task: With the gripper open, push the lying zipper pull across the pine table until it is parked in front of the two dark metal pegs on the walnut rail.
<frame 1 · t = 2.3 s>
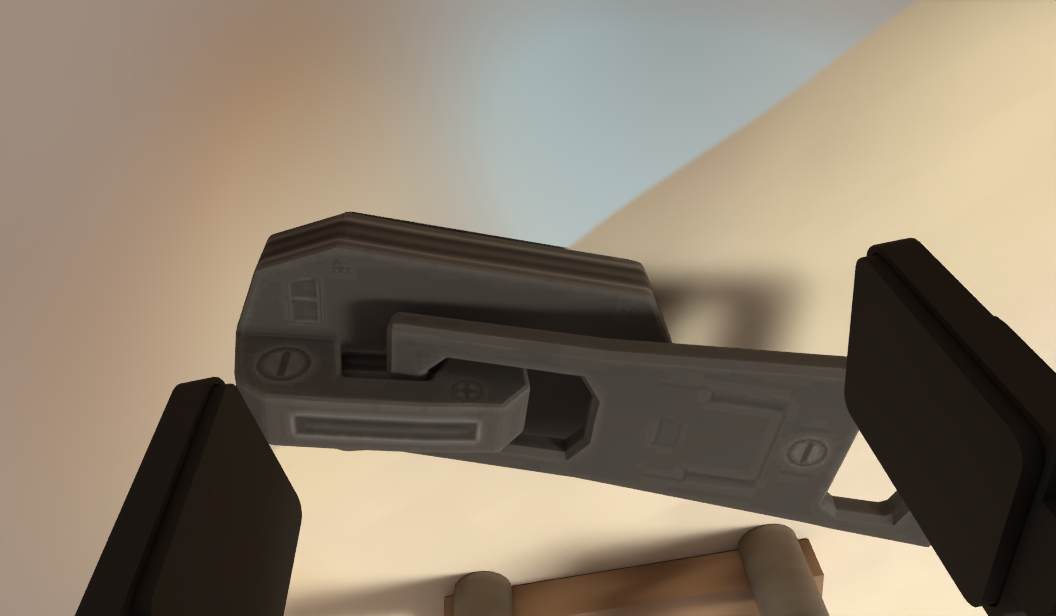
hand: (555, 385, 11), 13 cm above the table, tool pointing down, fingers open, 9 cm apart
peg stop rail: (623, 568, 37), on the table
zipper pull: (596, 330, 28), on the table
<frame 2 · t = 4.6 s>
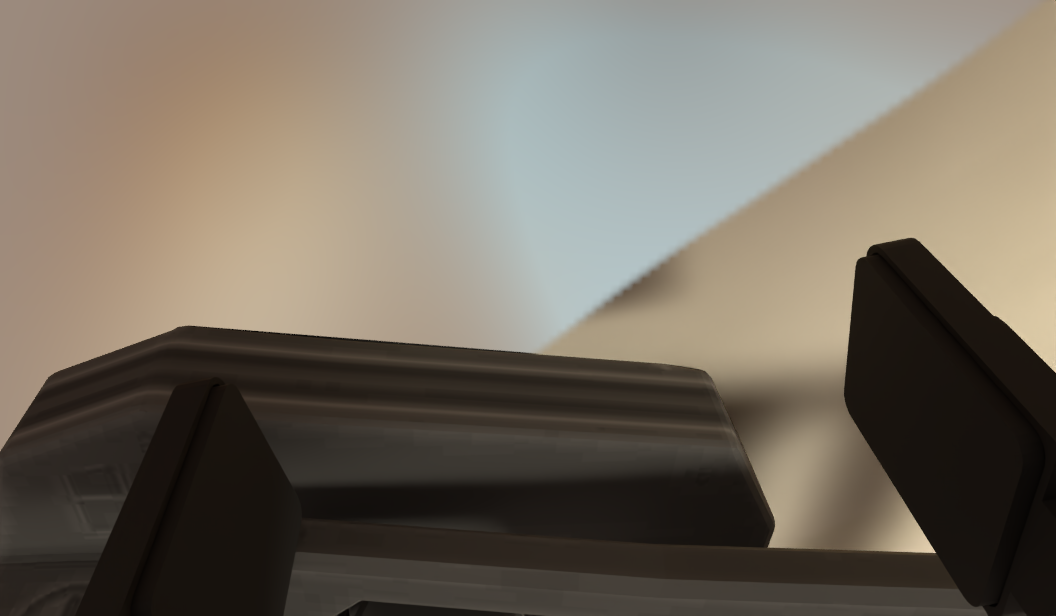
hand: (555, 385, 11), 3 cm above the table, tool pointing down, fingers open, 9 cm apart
zipper pull: (634, 472, 17), on the table, touching gripper
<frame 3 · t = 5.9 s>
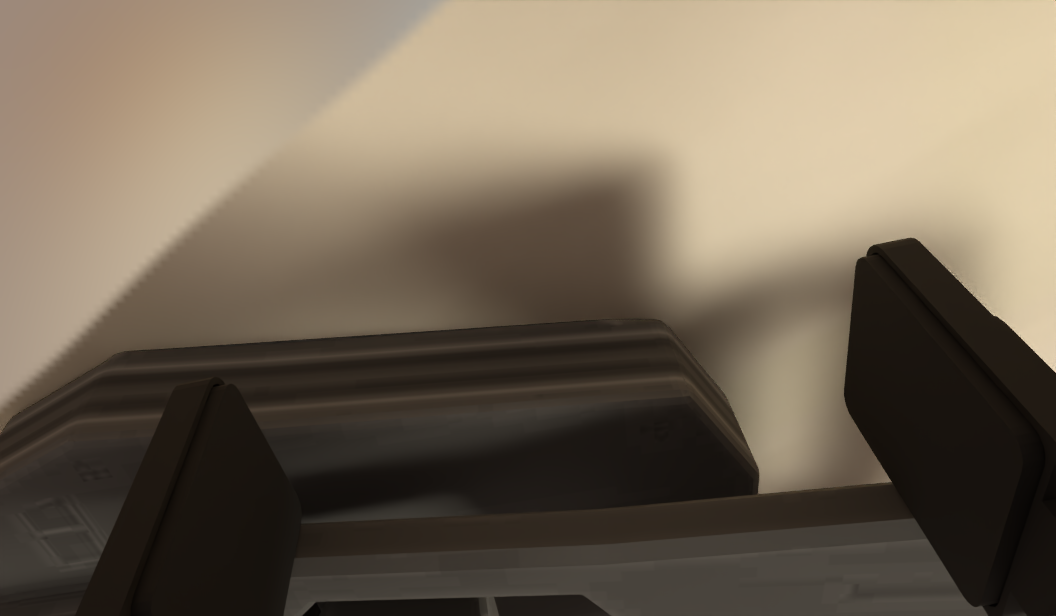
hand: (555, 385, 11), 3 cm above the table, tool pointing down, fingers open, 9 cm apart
zipper pull: (619, 437, 17), on the table, touching gripper
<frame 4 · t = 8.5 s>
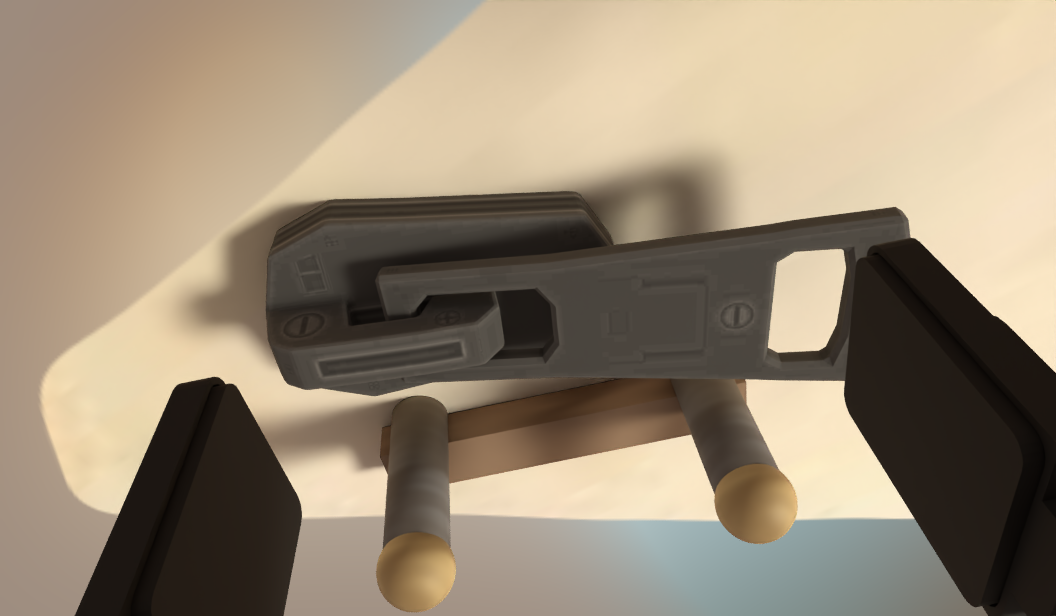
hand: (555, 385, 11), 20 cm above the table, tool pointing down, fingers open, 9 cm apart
peg stop rail: (556, 391, 38), on the table
zipper pull: (559, 257, 34), on the table
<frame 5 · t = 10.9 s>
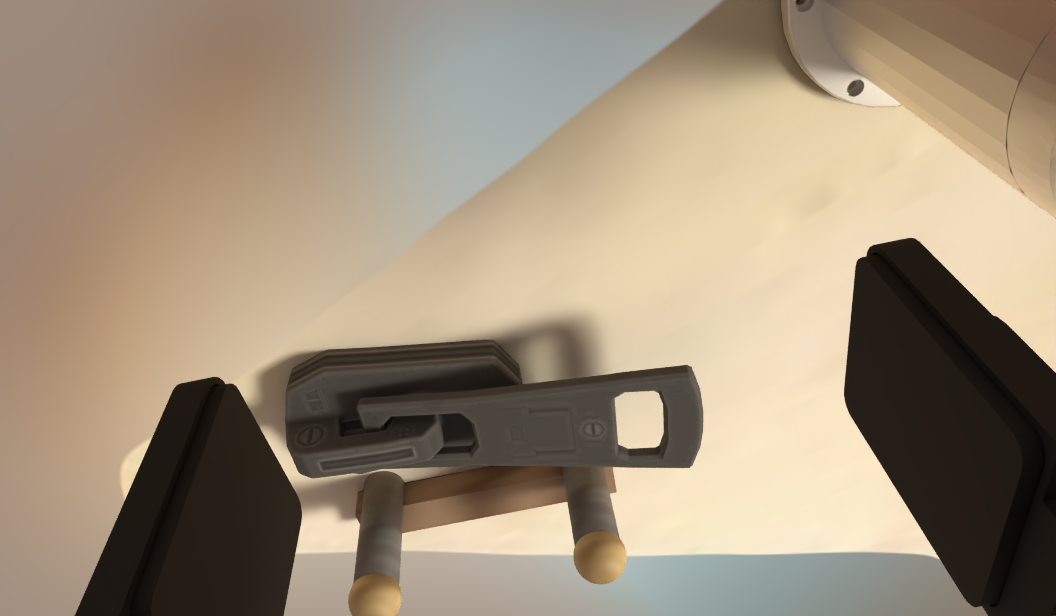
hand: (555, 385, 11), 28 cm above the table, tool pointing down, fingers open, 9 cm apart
peg stop rail: (481, 468, 53), on the table
zipper pull: (485, 378, 49), on the table
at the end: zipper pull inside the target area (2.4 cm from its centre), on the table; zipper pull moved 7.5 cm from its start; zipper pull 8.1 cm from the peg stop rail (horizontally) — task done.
